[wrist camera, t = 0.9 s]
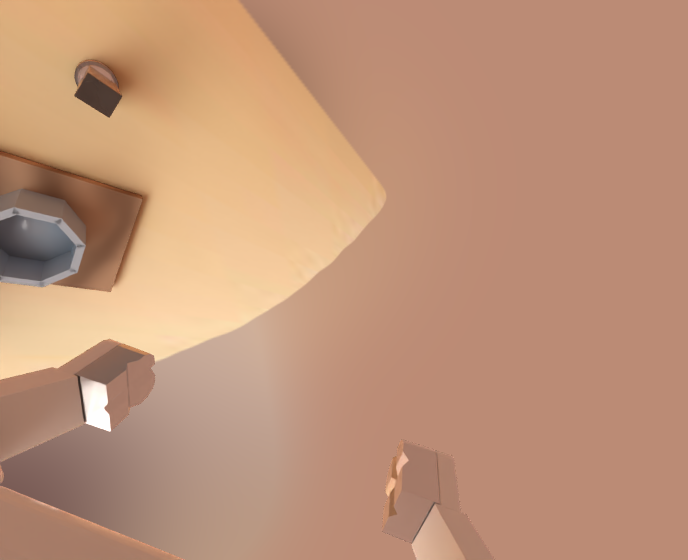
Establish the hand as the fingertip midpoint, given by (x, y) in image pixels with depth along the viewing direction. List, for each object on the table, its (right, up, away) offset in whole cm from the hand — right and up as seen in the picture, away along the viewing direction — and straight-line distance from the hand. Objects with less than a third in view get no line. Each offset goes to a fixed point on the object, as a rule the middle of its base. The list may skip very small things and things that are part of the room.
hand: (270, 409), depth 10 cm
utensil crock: (-37, +11, +32) cm, 50 cm away
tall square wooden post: (-27, +28, +29) cm, 48 cm away
